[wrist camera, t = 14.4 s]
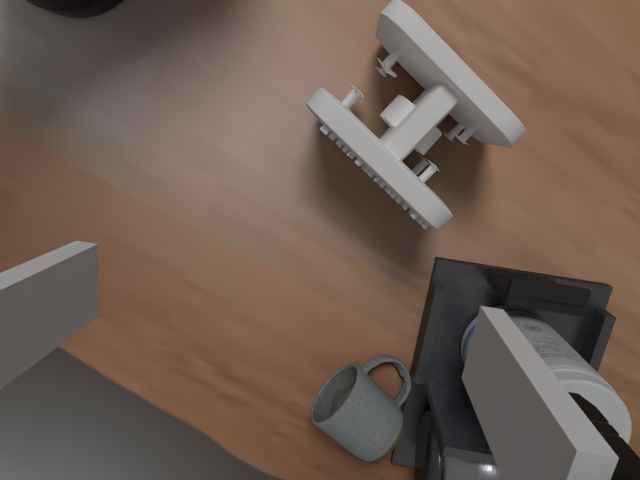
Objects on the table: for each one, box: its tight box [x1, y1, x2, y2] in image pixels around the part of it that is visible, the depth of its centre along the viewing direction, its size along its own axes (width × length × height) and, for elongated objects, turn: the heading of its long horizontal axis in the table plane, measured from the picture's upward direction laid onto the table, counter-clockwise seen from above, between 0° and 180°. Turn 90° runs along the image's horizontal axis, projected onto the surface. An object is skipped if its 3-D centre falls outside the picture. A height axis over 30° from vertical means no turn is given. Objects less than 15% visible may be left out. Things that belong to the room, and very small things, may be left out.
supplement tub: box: [461, 305, 632, 444], centre depth 40 cm, size 10×10×15 cm
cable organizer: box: [306, 0, 526, 230], centre depth 38 cm, size 15×11×12 cm
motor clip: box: [391, 257, 616, 480], centre depth 44 cm, size 27×18×12 cm, turn 172°
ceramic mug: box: [311, 355, 411, 462], centre depth 48 cm, size 11×8×8 cm
